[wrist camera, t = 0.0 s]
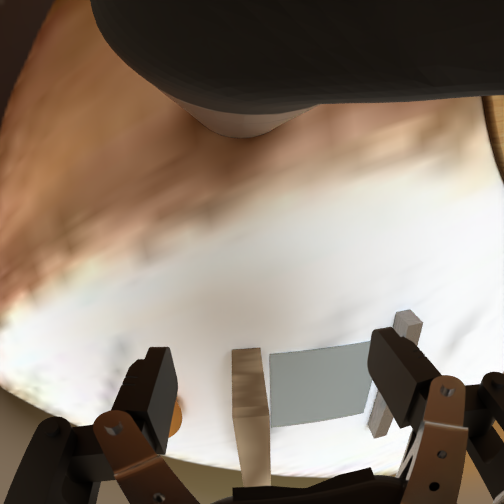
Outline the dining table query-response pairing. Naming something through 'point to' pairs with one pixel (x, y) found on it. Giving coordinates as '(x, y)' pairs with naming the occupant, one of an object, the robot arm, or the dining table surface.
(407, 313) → the wall
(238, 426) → the tan arch
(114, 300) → the dining table surface
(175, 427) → the ball
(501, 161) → the wooden plate with food
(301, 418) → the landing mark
